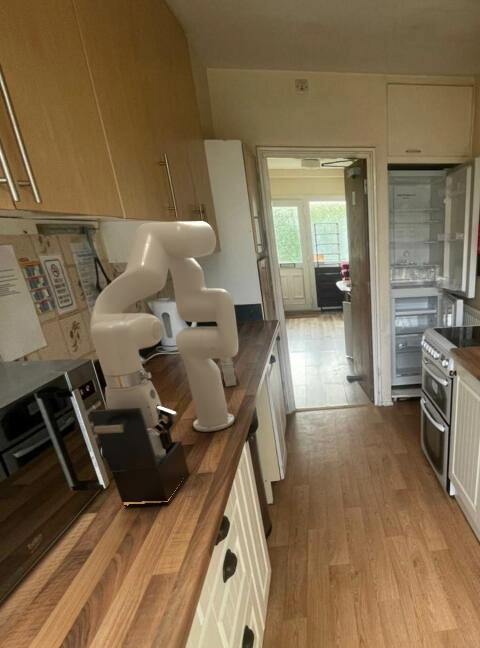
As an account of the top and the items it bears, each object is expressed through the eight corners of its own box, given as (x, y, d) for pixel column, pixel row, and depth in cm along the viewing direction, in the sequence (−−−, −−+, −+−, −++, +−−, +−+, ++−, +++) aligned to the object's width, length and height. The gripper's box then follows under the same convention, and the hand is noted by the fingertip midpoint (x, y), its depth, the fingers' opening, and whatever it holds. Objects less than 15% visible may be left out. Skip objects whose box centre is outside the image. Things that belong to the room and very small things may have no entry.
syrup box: (164, 478, 108) (149, 426, 102) (175, 486, 105) (161, 433, 99) (140, 488, 104) (124, 435, 98) (151, 496, 101) (135, 442, 95)
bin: (149, 476, 111) (139, 443, 107) (189, 474, 111) (180, 440, 107) (124, 508, 98) (111, 472, 94) (168, 505, 99) (158, 469, 95)
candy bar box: (223, 379, 180) (215, 340, 173) (235, 377, 182) (228, 339, 175) (224, 387, 171) (216, 347, 164) (237, 385, 172) (230, 345, 166)
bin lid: (91, 410, 88) (76, 421, 84) (141, 407, 89) (129, 418, 84) (112, 469, 94) (99, 482, 90) (158, 466, 95) (148, 479, 90)
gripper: (173, 371, 97) (189, 438, 104) (94, 375, 96) (116, 442, 103) (159, 382, 90) (178, 453, 97) (74, 386, 89) (99, 457, 96)
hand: (146, 447), depth 100 cm, fingers open, 9 cm apart
